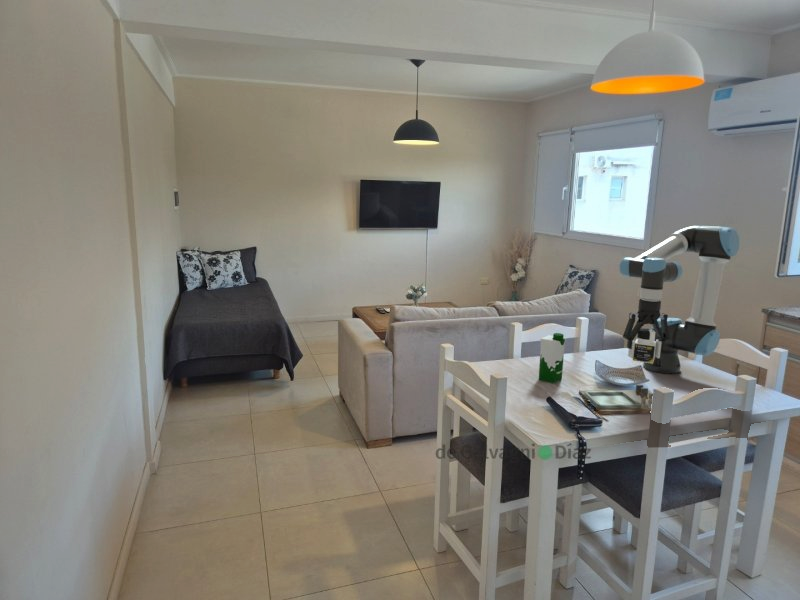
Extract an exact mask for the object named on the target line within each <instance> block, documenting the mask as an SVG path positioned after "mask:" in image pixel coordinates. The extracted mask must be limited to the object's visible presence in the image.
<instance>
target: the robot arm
mask: <svg viewBox="0 0 800 600" xmlns="http://www.w3.org/2000/svg"><path fill="white" fill-rule="evenodd" d="M738 234H739V233H738V232H737V229H735V228H733V227H727V226H719V225H718V226H715V225H714V226H713V225H712V226H711V225H698V224H697V225H691V226H688V227H684V228H681V229H678V230H675V231H674V232H672V233H670V234H669V235H667V237H666V239H664V240H663V241H662V242H659V243H658V244H656V245H655V246H652V247H650V248H648V250H646V251H644V252H642V253H641V254H639V255H637V256H635V257H631V256H630V257H624V258H622V259H621V261H620V263H619V267H618V268H619V273H620V274H621V275H622V276H625V277H629V278H635V279H636V278H637V279H641V282H640V289H639V298H640V299H638V307H637V308H638V310H637V312H636V313H635V312H634V313H632V312H630V313H629V315H628V322H627V324H626V327H625V329H624V332H623V335H622V338H624V339H625V340H627V344H626V348H627V349H628V353H627V356H628V357H629V358H630V359H633V356H634V347H635V341H636V340H634V339H635V338H637V337H636V336H637V335H638V332H639V330H640V329H642V327H644V326H645V325H651V328H650V329H652V330H654V331H655V341H656V350H655V359H654V362H653V364H652V363H645V362H642V367H643V368H644V369H646V370H648V371H650V372H655V373H660V374H668V373H674V374H678V372H679V373H680V372H681V367H682V366H681V361H680V357H679V351H681V352H686V353H690V354H695V355H697V356H698V355H699V356H703V357H708V356H710V355H711V354H713V353H714V352H715V351H716V349H717V347H718V345H719V343H720V340H721V334H720V330H718V329H716V328H717V324H716V323H715V321H714V317H715V314H716V309H717V304H718V300H719V299H718V298H719V293H720V289H721V284H722V280H723V275H724V270H725V265H726V264H727V263H729V262H730V261H731V259H732V258H731V257H735V256H736V255H737V253H738V251H739V249H740V237H739V235H738ZM684 253H695V254H698V258H699V260H700V261H701V264H700V268H699V273H698V278H697V283H696V287H695V291H694V297H693V303H692V307H691V312H690V316H689V317H688V318H687V319H685V321H684V323H683V320H682V319H681V318H678V317H677V318H676V317H669V315H668V314H666V313H665V312H664V313H661V311H660V310H661V307H662V301H661V300H662V298H663V288H664V283H668V282H669V283H671V282H675V281H677V280H679V279H680V278H681V277H682V275H683V268H682V266H681V264H680V263H678V262H676V261H670V259H671V258H673V257H674V256H676V255H682V254H684ZM668 260H669V261H668ZM637 318H638V319H637ZM636 320H637V321H636Z"/></svg>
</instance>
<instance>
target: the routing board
mask: <svg viewBox="0 0 800 600" xmlns="http://www.w3.org/2000/svg"><path fill="white" fill-rule="evenodd" d="M653 393H654V392H652V391H651V390H650V389H649V388H648V387H644V384H636V385H635V389H623V390H621V389H618V390H615V389H612V390H610V389H609V390H607V389H606V390H604V389H603V390H599V389H598V390H589V389H588V390H579V391H578V394H579V396H581V397H582V398H583V399H584V400H585V399H586V400H590V401H591V402H592V403H593V404H594V405H595V407H596V409H597V410H598V411H597V410H596V409H595V410H596V411H597V412H598V413H599V414H600V415H605V414H606V415H625V414H626V415H627V414H629V415H634V414H635V415H637V414H638V415H639V414H646V415H648V414H650V411H651V404H652V396H653ZM586 400H585V401H586Z"/></svg>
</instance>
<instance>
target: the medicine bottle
mask: <svg viewBox="0 0 800 600" xmlns="http://www.w3.org/2000/svg"><path fill="white" fill-rule="evenodd" d="M636 336H637V337H636V339H635V340H634V341H635V347H634V356H633V358H632V361H633V362H640V363H643V362H645V363H652V364H653V362H654V359H655V350H656V341H655V331H654V330H652V329H651V328H645V327H644V328H642V327H641V329H640V330H639V332H638V333H637V335H636Z"/></svg>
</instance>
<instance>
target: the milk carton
mask: <svg viewBox="0 0 800 600" xmlns="http://www.w3.org/2000/svg"><path fill="white" fill-rule="evenodd" d="M566 340H567V338H566V337H565V336H564V334H563V333H561V332H555V333H553V335H549V334H548V335H546V336H544V337H541V338H540V353H539V367H538V368H539V370H538V380H539V381H542V382H546V383H550V384H556V383H558V382H560V381H562V380H563V369H564V356H565V347H566Z"/></svg>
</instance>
